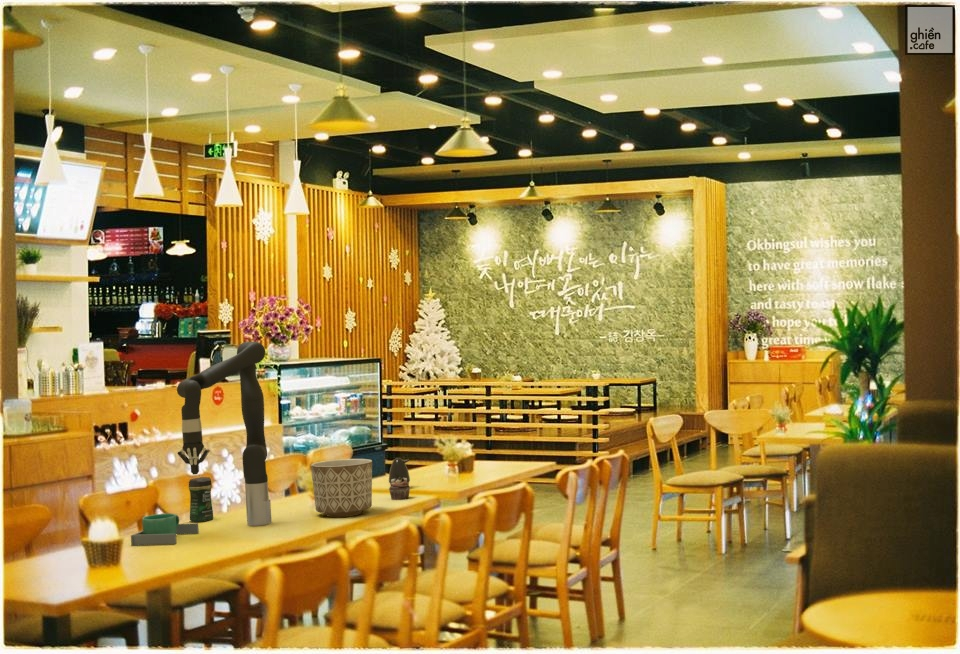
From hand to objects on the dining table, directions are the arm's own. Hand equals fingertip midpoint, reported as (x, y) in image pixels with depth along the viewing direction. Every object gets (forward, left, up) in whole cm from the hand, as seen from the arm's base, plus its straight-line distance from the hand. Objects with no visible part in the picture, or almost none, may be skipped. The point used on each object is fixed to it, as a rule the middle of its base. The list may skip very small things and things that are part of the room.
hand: (195, 474), depth 456 cm
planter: (-49, -41, -24) cm, 68 cm away
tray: (+10, +8, -24) cm, 27 cm away
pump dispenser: (-58, -112, -24) cm, 129 cm away
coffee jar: (+12, -35, -24) cm, 44 cm away
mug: (+11, +8, -24) cm, 28 cm away
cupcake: (-65, -80, -24) cm, 106 cm away
